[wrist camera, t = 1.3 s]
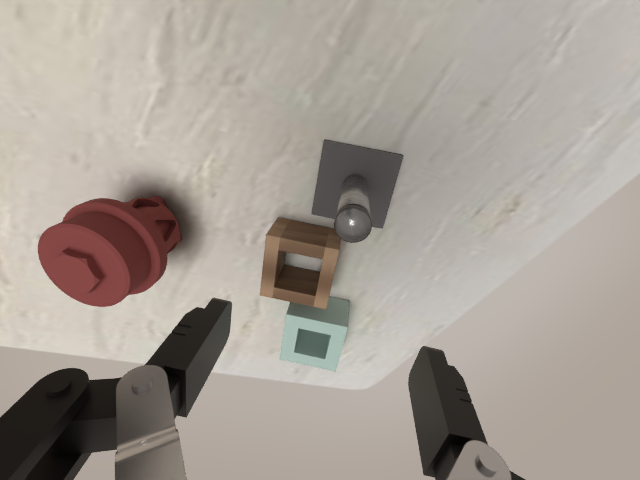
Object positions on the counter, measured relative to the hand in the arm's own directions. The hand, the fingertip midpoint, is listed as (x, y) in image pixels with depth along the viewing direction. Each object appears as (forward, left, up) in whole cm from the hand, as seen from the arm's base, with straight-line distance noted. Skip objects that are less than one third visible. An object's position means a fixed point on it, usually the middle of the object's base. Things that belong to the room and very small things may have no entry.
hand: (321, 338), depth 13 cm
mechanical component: (+8, -21, -22) cm, 32 cm away
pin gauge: (-1, +1, -22) cm, 22 cm away
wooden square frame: (+8, -3, -22) cm, 24 cm away
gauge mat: (-1, +1, -22) cm, 22 cm away
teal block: (+17, 0, -22) cm, 28 cm away
